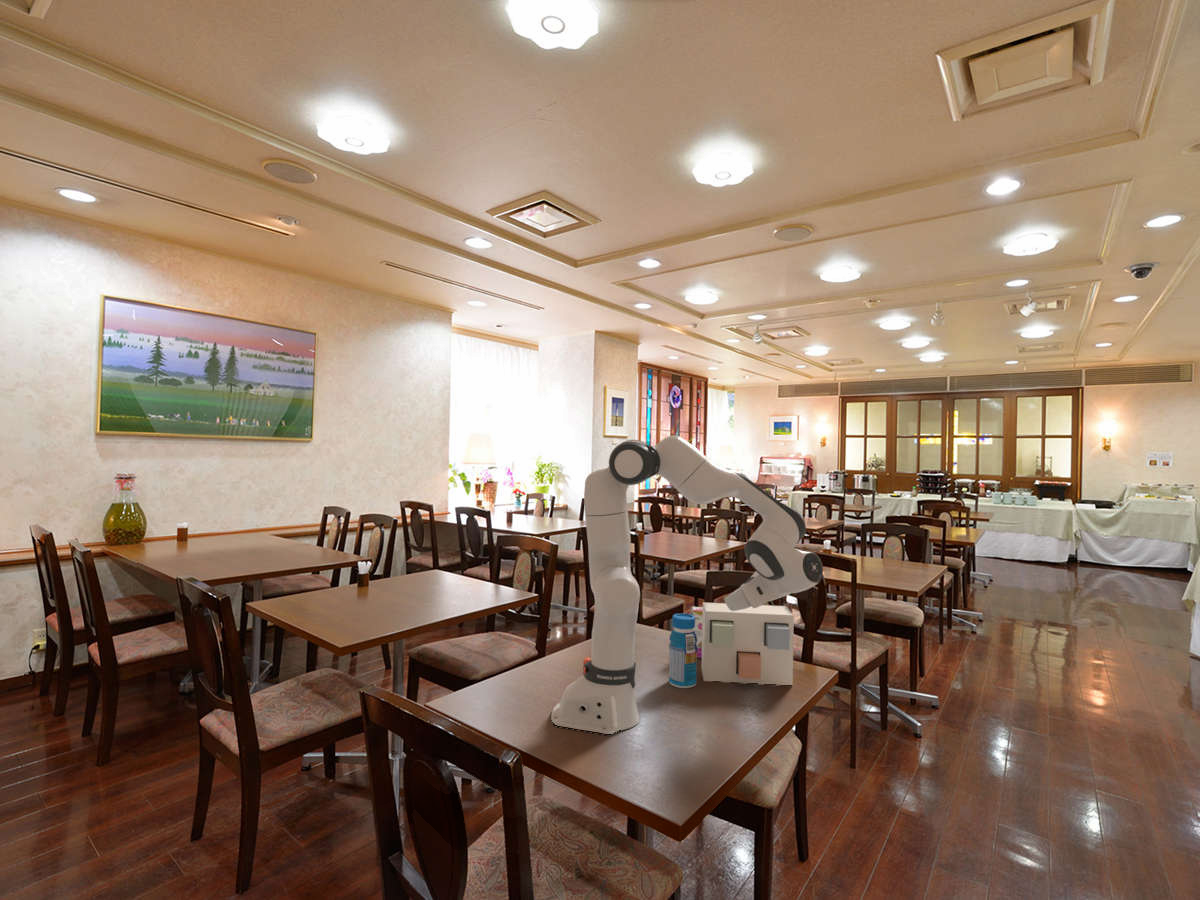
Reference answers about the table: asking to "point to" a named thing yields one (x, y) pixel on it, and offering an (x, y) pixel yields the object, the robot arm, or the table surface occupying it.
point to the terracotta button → (748, 665)
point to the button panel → (746, 644)
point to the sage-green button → (722, 633)
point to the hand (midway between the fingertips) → (740, 591)
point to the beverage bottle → (683, 652)
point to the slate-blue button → (777, 636)
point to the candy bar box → (698, 628)
